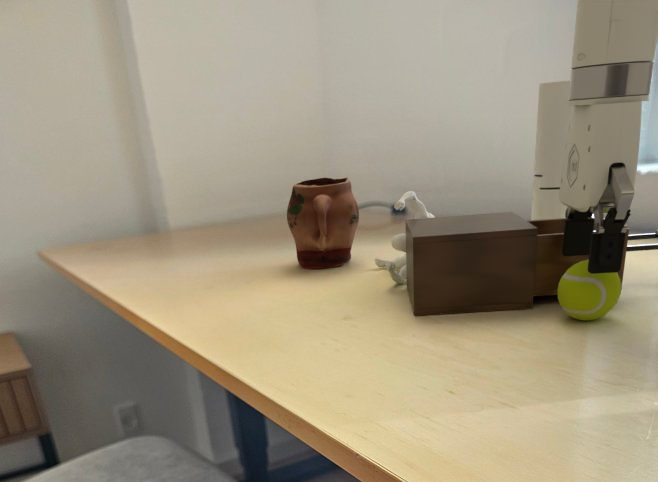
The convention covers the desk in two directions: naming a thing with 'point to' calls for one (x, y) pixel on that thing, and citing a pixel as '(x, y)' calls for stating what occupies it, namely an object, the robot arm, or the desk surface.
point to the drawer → (556, 264)
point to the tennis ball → (588, 292)
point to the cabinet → (470, 263)
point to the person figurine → (403, 238)
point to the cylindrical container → (550, 149)
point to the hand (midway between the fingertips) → (588, 263)
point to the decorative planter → (323, 221)
